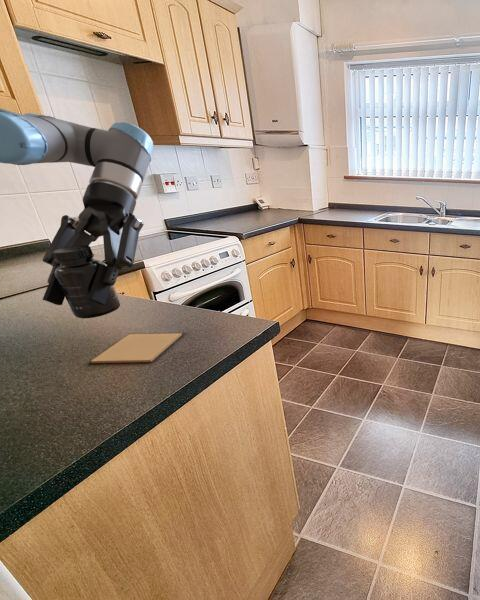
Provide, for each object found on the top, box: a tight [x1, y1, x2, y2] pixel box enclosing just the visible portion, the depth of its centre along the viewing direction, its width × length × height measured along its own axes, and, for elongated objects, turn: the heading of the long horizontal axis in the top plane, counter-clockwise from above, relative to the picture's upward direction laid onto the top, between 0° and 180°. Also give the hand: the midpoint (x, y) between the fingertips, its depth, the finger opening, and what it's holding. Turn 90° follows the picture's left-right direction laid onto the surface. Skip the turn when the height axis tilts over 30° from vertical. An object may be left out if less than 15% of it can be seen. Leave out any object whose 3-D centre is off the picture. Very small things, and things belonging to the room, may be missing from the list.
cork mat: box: [90, 332, 183, 364], centre depth 73 cm, size 12×11×1 cm
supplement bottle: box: [53, 245, 121, 319], centre depth 60 cm, size 7×7×12 cm
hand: (74, 301), depth 58 cm, fingers closed on supplement bottle, 7 cm apart
